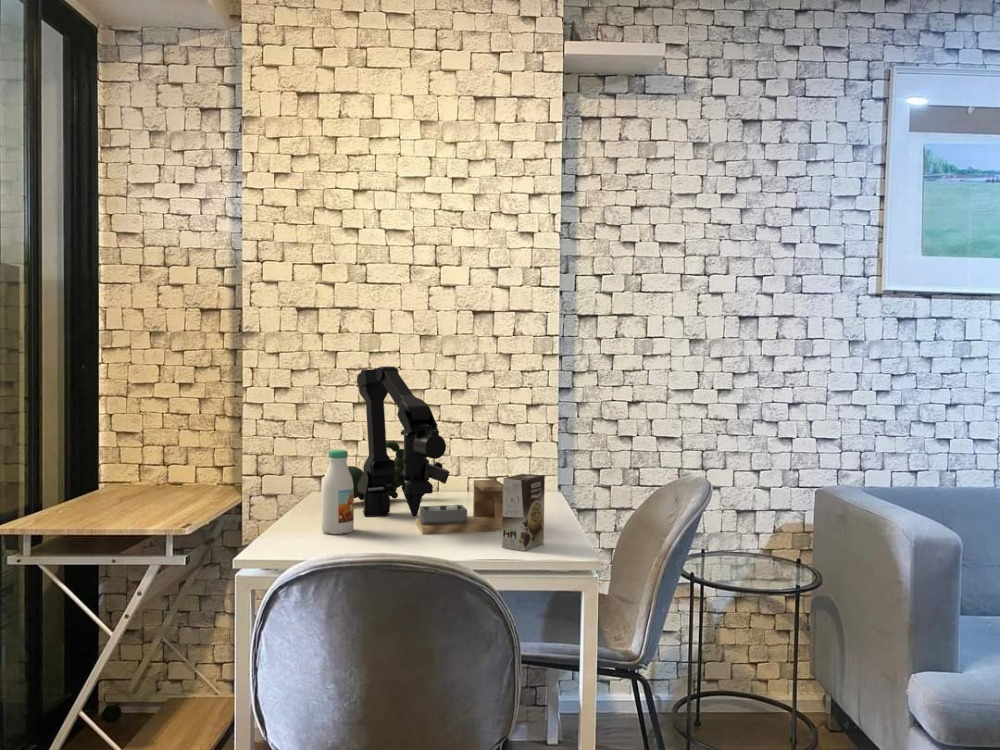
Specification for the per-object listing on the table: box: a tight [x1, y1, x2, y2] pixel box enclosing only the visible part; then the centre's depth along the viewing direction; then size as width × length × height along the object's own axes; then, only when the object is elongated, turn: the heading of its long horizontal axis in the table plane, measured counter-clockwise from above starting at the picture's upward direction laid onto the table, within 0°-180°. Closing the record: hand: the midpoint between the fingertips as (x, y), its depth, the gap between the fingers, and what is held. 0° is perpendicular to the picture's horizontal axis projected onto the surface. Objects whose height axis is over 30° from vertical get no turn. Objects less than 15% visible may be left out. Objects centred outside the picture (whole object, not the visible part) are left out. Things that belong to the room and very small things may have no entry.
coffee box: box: [501, 473, 546, 552], centre depth 181 cm, size 9×6×16 cm
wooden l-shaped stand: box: [415, 479, 503, 535], centre depth 200 cm, size 21×11×11 cm, turn 104°
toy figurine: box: [347, 440, 405, 501], centre depth 231 cm, size 9×19×25 cm
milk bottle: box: [321, 449, 355, 535], centre depth 193 cm, size 8×8×20 cm
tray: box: [419, 504, 468, 526], centre depth 199 cm, size 11×6×4 cm, turn 104°
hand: (414, 516), depth 197 cm, fingers closed
